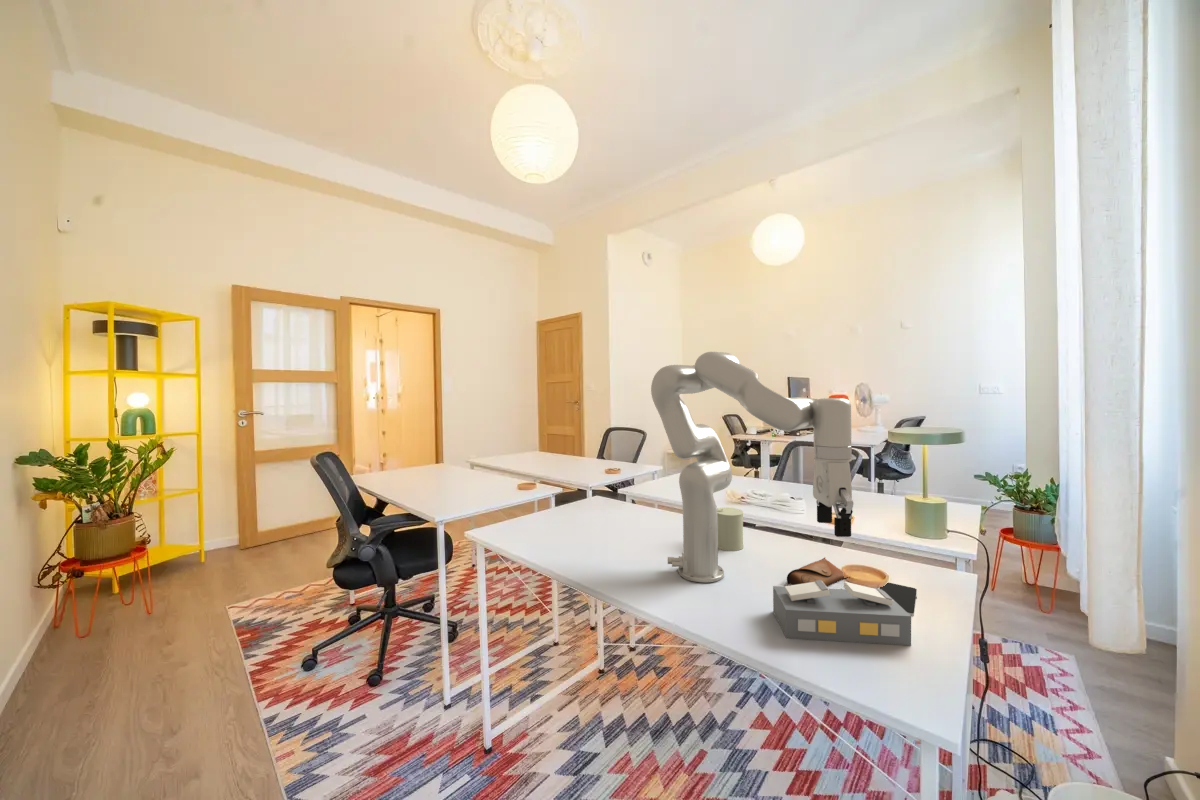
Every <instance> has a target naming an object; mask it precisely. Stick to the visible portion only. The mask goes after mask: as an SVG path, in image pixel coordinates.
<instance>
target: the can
mask: <svg viewBox="0 0 1200 800" xmlns="http://www.w3.org/2000/svg"><path fill="white" fill-rule="evenodd" d="M717 516H718V549H719V548H720V549H719V550H723V551H729V552H735V551H740V550H743V549H744V518H743V517H744V511H743V510H741V509H738V508H735V507H718V508H717Z"/></svg>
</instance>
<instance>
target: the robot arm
mask: <svg viewBox="0 0 1200 800" xmlns="http://www.w3.org/2000/svg"><path fill="white" fill-rule="evenodd" d="M759 379H760V378H759V374H758V373H757V372H756V371H755V370H752V369H751V368H749V367H746V366H744V365H742V363H740V360H739V359H738V358H737V357H736V356H735V355H734V354H732V353H729V352H722V351H720V352H719V351H707V352H704V353H702V354H700V355H699V356H698V357H697V358H696V360H695V363H694V365H688V364H669V365H666V366H663V367H660V369H658V371H656V373H655V374H654V375H653V378H652V381H651V384H650V394H651V399H652V401H653V404H654V406H655V408H656V410H657V413H658V414H659V418H660V420H661V421H662V425H663V428H664V430H665V431H664V432H665V433H666V436H667V438H668V441H669V444H670V446H671V449H672V452H673V453H674V455H675V456H676V457H677V458H679V459H681V460H690V459H691V460H692V459H695V458H696V460H697V461H694V462H692V463H689V464H687V465H686V466H685V467H684V468H683V469H682V470H681V471H680V474H679V477H678V479H679V480H678V483H679V489H680V495H681V502H682V504H681V505H682V531H683V532H682V533H683V534H682V536H683V538H682V539H683V544H682V545H683V549H682V550H683V552H682V553H681V555H680V556H678V557H675V556H667V565H671V567H673V568H674V567H677V570H678V571H677V572H678V575H679V576H680V577H681V578H684V579H685V580H687V581H691V582H695V583H714V582H718V581H720V580H722V579H723V578H724V577H725V571H724V569H723V567H722V566H720V565H719V548H718V516H717V509H718V508H717V504H716V501H715V497H714V494H715V493H717V492H721V491H723V490H725V489H726V488H728V487H729V486H730V484H731V482H732V481H733V480H732V479H733V471H732V468H731V465H730V461H729V459H728V457H727V455H726V452H725V449H724V447H723V445H722V442H721V439H720V437H719V436H718V433H717V432H716V431H715V430H714V429H713V428H712V427H710V426H709V425H708V424H707V425H706V424H703V423H702V424H701V423H700V424H696V423H695V421H694V419H693V417H692V415H691V411H690V409H689V407H688V406H687V404H686V403H685V402H684V401H683V399H682V398H681V396H680V395H686V394H691V395H692V394H699V393H703V392H705V391H707V390H712V389H714V388H715V389H717V390H718V391H721V392H722V393H724V394H726V395H728V396H729V397H731V398H732V399H734V400H736V401H738V403H739V404H740V406H741V407H742V408H744V409H745V410H746V411H747V412H748V413H749V414H751V415H752V416H753V417H755V418H757V419H758V420H760V421H761V422H763V423H764V424H767V425H768V426H771V427H772V428H774V429H777V430H779V431H784V432H792V431H797V430H804V429H811V428H813V460H814V464H813V465H814V466H813V479H812V480H813V481H812V496H813V498H814V499H815V500H816V501H815V503H816V521H817V523H819V524H831V523H833V520H834V523H833V524H834V529H833V530H834V536H836V537H837V538H838V537H839V538H840V537H841V538H848V537H849V538H850V537H851V536H852V518H853V513H854V510H853V508H854V504H855V503H854V500H853V498H852V497H853V495H852V494H853V493H852V492H853V491H852V490H853V489H852V474H851V465H850V462H852V460H853V456H852V452H853V451H852V404H851V401H850V400H849V399H846V398H842V397H841V398H840V397H838V398H837V397H827V398H825V397H824V398H812V397H810V398H809V397H805V396H804V397H801V396H798V397H787V396H784V395H782V394H780V393H778V392H776V391H774V390H772V389H770V388H768V387H767V386H765V385H764V384H763V383H762V382H761V381H759ZM840 509H841V510H840ZM833 510H834V514H835V517H833ZM833 518H834V519H833Z"/></svg>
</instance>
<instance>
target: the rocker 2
mask: <svg viewBox="0 0 1200 800" xmlns="http://www.w3.org/2000/svg"><path fill="white" fill-rule="evenodd" d="M843 589H846V590H847V591H848V592H849V594H850V595H851V596H853V597H857V598H862V599H866V600H870V601H874V602H878V603H882V604H886V605H890V606H892V603H893V600H892V598H890V597H889V596H888V595H887V594H886V593H885V592H884V591H883V590H882V589H878V587H877V588H873V587H869V586H865V585H860V584H856V583H852V582H847V581H844V582H843Z"/></svg>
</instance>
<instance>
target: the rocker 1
mask: <svg viewBox="0 0 1200 800" xmlns="http://www.w3.org/2000/svg"><path fill="white" fill-rule="evenodd" d="M784 587H785V588H786V592H787V594H788V595H789V597H790V599H791V600H792V601H795V600H801V599H808V598H815V597H821V596H828V595H830V591H829V589H830V588H829V587H827V586H826V585H825V584H824V583H823V581H821V580H817V581H815V582H810V583H803V584H797V585H791V584H790V585H786V586H784Z"/></svg>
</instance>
